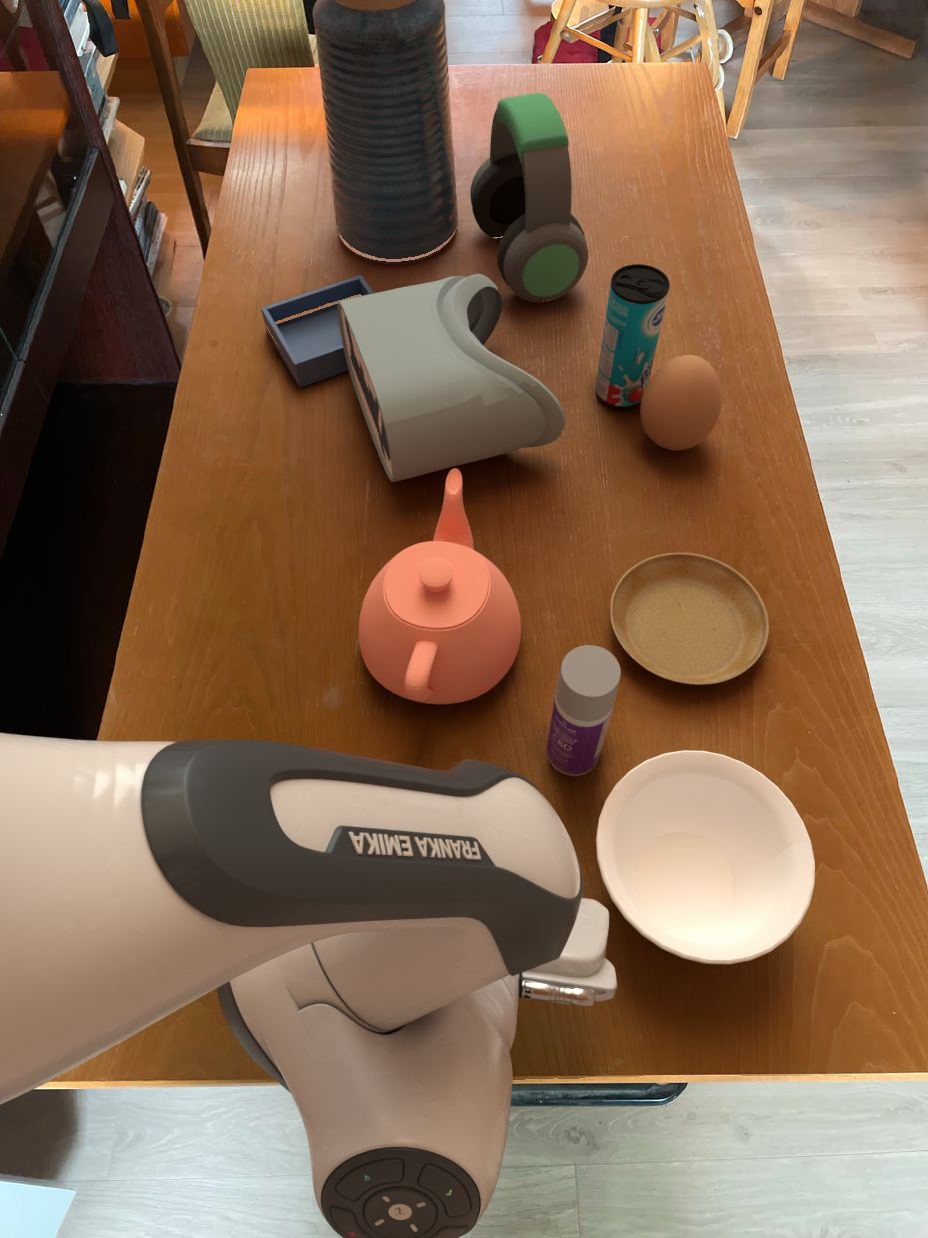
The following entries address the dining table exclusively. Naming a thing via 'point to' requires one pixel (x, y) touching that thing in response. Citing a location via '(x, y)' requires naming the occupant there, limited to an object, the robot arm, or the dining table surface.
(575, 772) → the container
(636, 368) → the beverage can
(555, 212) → the headphones
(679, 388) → the egg
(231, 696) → the dining table surface
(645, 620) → the plant saucer
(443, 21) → the vase
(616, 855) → the bowl
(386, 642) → the teapot
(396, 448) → the virtual reality goggles
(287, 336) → the blue tray
